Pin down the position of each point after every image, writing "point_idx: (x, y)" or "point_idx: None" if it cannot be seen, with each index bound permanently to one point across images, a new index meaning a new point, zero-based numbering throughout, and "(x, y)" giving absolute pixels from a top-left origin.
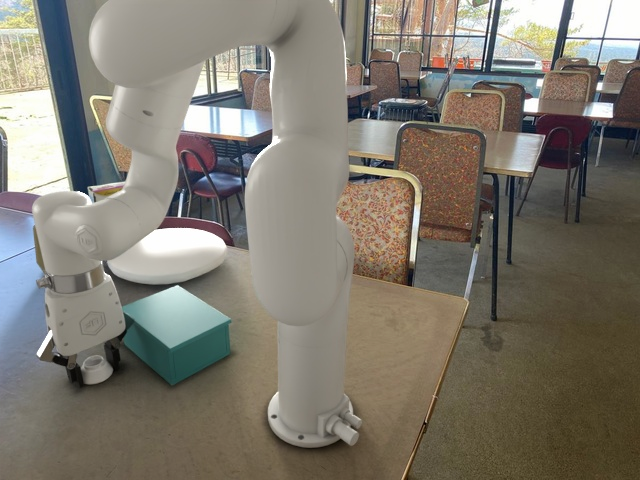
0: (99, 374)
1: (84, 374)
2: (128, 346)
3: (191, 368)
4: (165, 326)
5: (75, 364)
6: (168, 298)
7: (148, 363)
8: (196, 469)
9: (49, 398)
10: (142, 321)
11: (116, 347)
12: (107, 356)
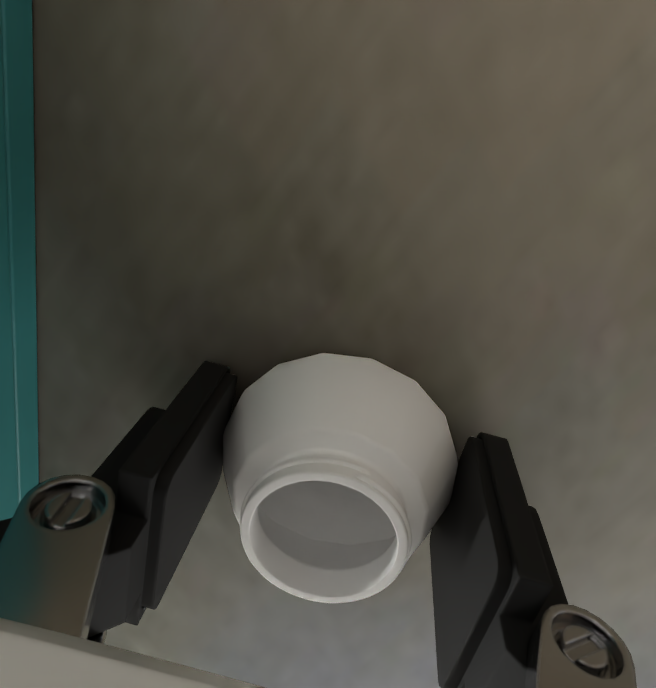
0: (367, 408)
1: (436, 497)
2: (30, 486)
3: None
4: None
5: (547, 626)
6: None
7: (21, 215)
8: None
9: (651, 526)
10: None
11: (96, 495)
12: (198, 505)
